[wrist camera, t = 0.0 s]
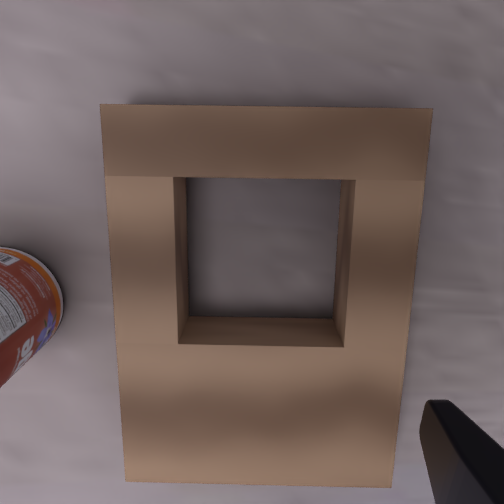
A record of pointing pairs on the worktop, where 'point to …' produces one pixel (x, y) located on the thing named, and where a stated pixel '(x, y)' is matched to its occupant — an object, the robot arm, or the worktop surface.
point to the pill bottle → (25, 309)
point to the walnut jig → (262, 328)
